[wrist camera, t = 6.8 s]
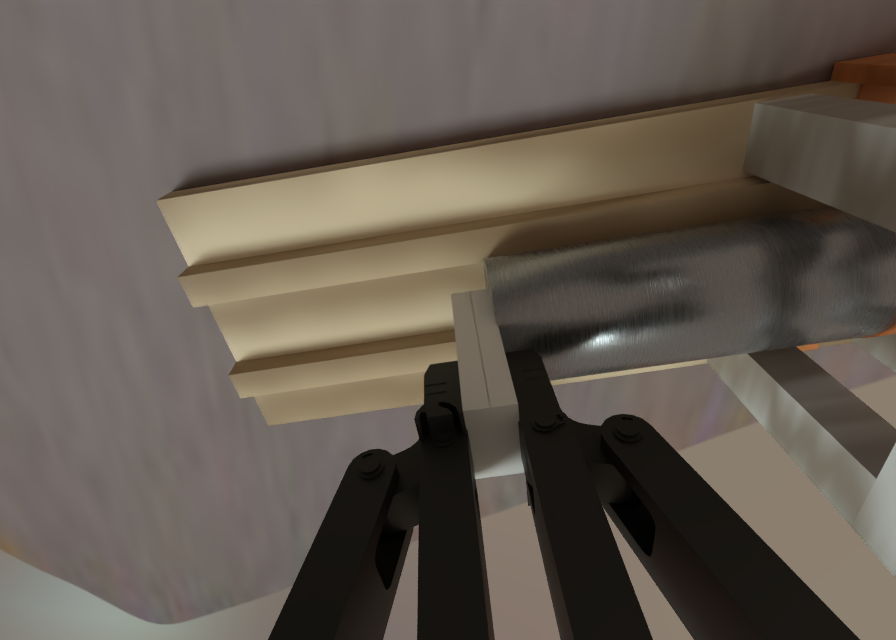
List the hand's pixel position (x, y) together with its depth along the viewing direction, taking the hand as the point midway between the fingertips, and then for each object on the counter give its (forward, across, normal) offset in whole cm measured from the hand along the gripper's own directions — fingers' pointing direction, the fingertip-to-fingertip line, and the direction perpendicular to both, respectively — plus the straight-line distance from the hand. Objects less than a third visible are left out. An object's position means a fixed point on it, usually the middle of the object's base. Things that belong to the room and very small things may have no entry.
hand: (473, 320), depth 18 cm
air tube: (+2, +11, 0) cm, 11 cm away
